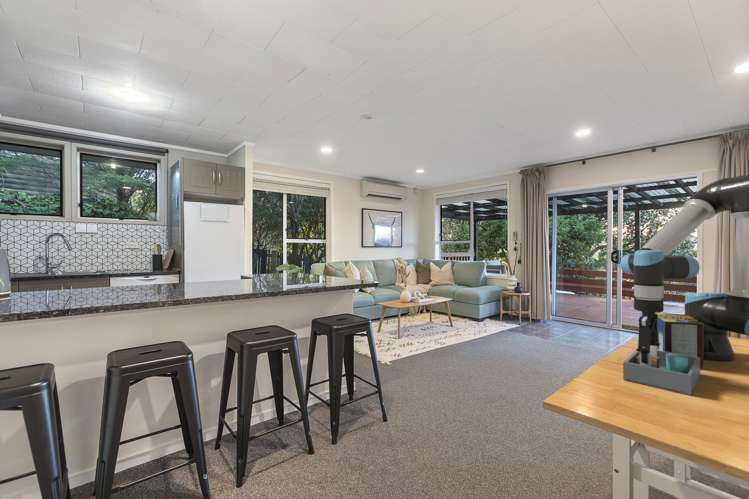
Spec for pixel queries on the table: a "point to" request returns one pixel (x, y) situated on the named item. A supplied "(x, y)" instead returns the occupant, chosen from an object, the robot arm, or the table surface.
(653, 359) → the walnut cube
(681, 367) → the teal cylinder
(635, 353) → the tote
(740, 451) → the table surface
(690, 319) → the protein box
